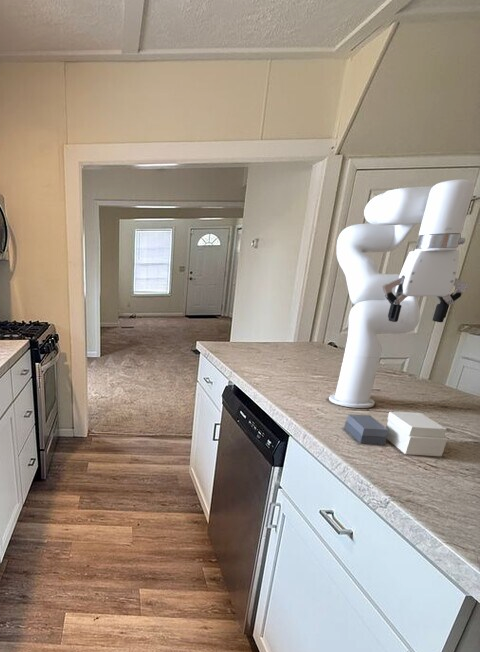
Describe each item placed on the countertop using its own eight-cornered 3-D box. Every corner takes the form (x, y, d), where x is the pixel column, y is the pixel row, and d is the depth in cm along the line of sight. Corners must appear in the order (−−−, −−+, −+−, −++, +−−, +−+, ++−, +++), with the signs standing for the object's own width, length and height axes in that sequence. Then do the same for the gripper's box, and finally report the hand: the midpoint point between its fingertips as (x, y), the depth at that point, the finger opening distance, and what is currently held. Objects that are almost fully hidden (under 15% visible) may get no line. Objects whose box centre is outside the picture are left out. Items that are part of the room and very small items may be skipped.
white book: (387, 419, 103) (389, 411, 102) (417, 421, 101) (420, 412, 100) (409, 435, 93) (411, 427, 92) (443, 437, 91) (446, 428, 90)
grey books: (344, 427, 110) (347, 413, 108) (366, 428, 109) (369, 415, 107) (360, 443, 100) (363, 428, 98) (384, 444, 99) (388, 429, 97)
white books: (383, 436, 104) (387, 420, 102) (416, 438, 102) (421, 422, 101) (405, 454, 94) (410, 437, 92) (441, 456, 92) (447, 439, 91)
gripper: (469, 243, 93) (446, 319, 99) (386, 245, 96) (369, 319, 102) (492, 242, 86) (465, 323, 92) (402, 244, 89) (382, 323, 96)
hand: (414, 321), depth 97 cm, fingers open, 9 cm apart
